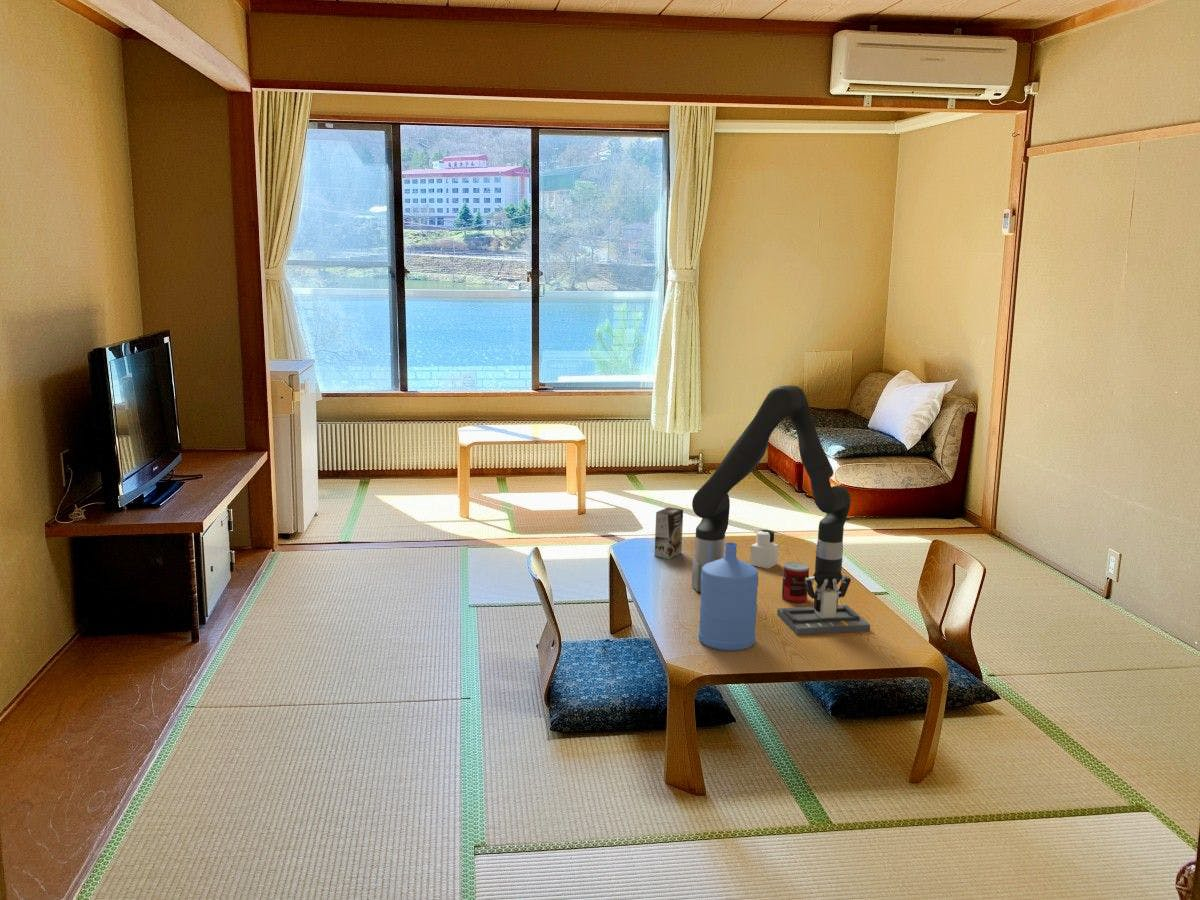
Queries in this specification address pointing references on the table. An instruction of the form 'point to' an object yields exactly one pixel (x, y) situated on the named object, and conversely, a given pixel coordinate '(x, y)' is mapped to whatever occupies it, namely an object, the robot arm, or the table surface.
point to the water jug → (728, 602)
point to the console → (822, 621)
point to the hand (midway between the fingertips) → (825, 610)
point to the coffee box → (668, 532)
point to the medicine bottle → (764, 550)
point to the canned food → (795, 582)
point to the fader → (828, 604)
